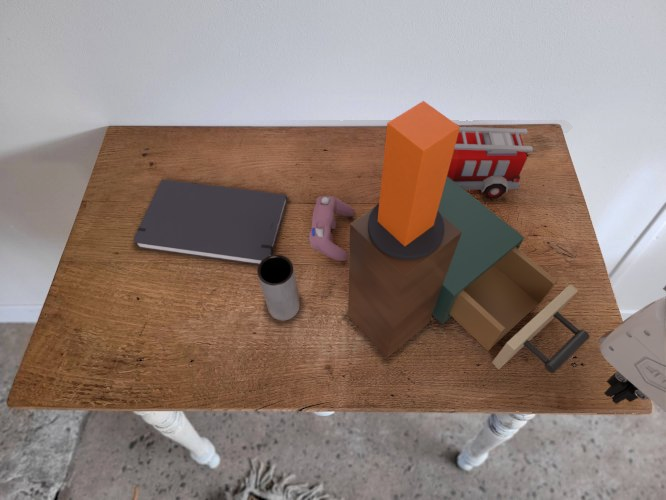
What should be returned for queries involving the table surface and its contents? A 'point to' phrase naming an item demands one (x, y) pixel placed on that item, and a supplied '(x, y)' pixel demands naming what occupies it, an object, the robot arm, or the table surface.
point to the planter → (279, 286)
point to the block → (415, 170)
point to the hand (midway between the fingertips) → (617, 390)
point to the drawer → (515, 309)
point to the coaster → (414, 249)
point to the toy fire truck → (488, 159)
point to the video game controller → (328, 226)
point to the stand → (394, 286)
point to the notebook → (212, 221)
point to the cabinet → (471, 243)
